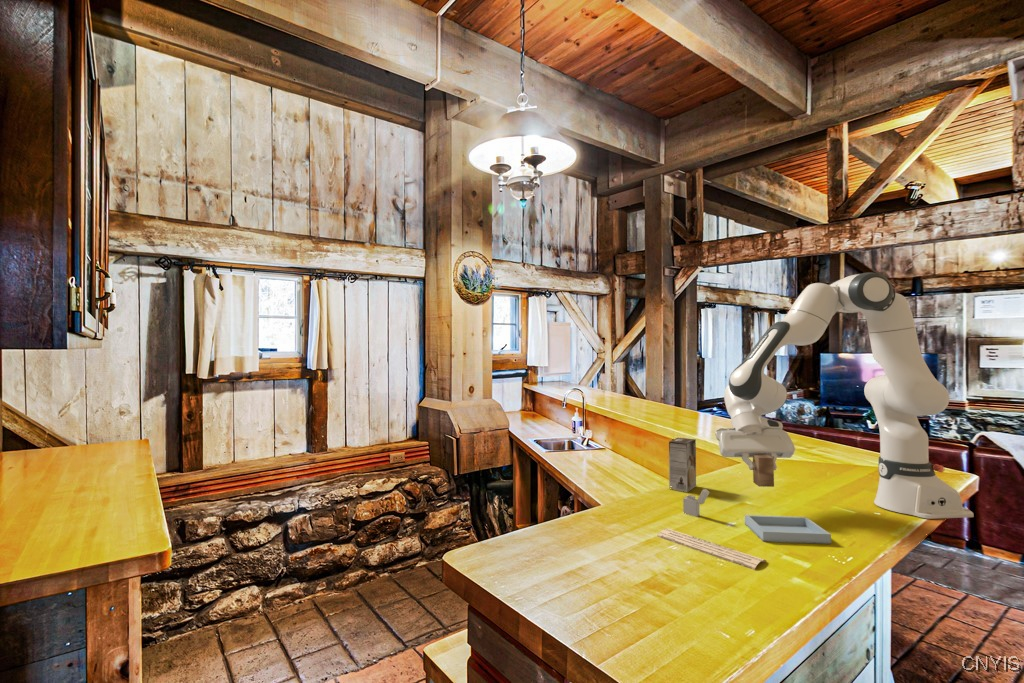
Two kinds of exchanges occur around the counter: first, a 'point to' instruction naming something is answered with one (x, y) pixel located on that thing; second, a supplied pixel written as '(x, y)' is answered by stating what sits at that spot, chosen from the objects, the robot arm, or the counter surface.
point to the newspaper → (711, 548)
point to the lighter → (694, 503)
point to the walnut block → (763, 471)
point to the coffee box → (682, 464)
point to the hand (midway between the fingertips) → (763, 469)
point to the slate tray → (787, 529)
